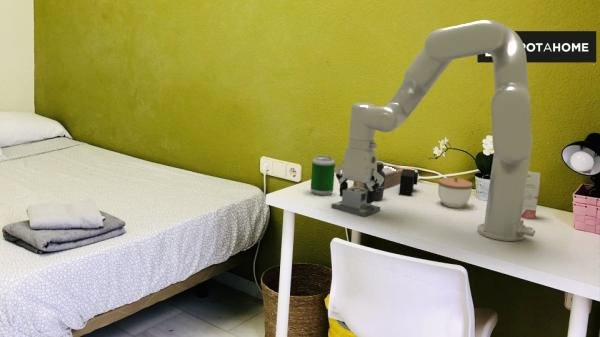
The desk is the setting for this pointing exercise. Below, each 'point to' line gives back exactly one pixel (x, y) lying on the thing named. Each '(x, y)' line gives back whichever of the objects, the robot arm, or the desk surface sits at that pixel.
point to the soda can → (322, 175)
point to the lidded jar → (454, 191)
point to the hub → (355, 198)
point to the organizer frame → (388, 177)
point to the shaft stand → (360, 212)
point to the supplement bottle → (379, 190)
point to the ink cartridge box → (531, 195)
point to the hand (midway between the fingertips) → (356, 199)
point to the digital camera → (407, 182)
